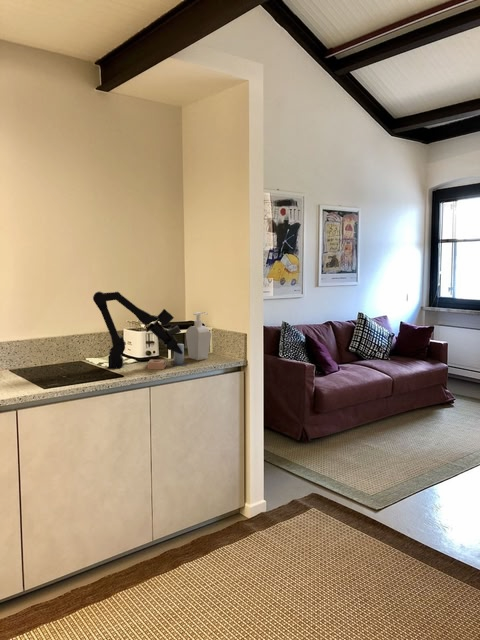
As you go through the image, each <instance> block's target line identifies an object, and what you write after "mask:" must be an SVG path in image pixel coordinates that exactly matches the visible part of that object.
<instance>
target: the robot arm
mask: <svg viewBox="0 0 480 640" xmlns="http://www.w3.org/2000/svg"><path fill="white" fill-rule="evenodd" d="M92 300H93V302H94V303H95V305H96V307H97V308H98V309H99V311H100V312H101V315H102V318H103V320H104V323H105V325H106V328H107V330H108V332H109V335H110V338H111V344H112V347H111V348H110V349H108V351H109V352H108V353H109V355H108V359H107V360H108V367H107V369H122V367H124V357H123V354H122V353H124V351H125V350H126V345H127V344H126V341H125V340H124V336H123V335H121V336H120V334H119V333H118V331H117V327H116V326H115V325H116V324H115V322H114V320H113V318H112V316H111V313H110V310H109V308H108V303H107V302H110V301H116V302H118V303H119V304H120V305H121V306H123V307H124V308H126V310H128V311H130V312H131V313H132V314H133V315H134V316H135V317H136V318H137V319H138V320H139V322H140V323H141V324H142V325H144V326H145V329H146V330H145V332H146V333H148V332H149V331H150V332H151V333H152V334H153V335H155V336H156V338H157V339H158V340H160V341H161V342H162V343H163V344H164V345H165V348H166V349H167V350H169V351H172V352H173V353H174V352H177V353H179V354H182V353H183V352H182V351H181V349H180V348H179V347H178V345H177V344H179V343H178V340H177V339H176V337H175V336H174V335H177V334H180V333H181V329H180V327H179V325H174V324H172V325H171V326H170V328H169V329H167V328H165V327H164V326H168V324H169V323H170V322H171V321H172V320H173V319H174V316H173V315H172V314H171V313H170V312H168V311H167V309H166V308H163V309H162V310H161V312H160V313H159V314H157V315H154V314H153V315H152V314H151V313H149V312H147V311H146V310H143V309H141V308H139V307H138V306H137V305H135V304H134V303H133V302H131V301H130V300H129V299H128V298H126V297H125V296H124V295H123V294H121V293H120V292H119V291H115V292H114V291H113V292H111V291H110V292H102V291H97V292H95V293H94V294H93V296H92Z"/></svg>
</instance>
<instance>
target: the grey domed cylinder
mask: <svg viewBox="0 0 480 640" xmlns="http://www.w3.org/2000/svg"><path fill="white" fill-rule="evenodd" d="M177 345H178V347H179V348H180V349H181V351H182V352H183V353H182V354H179V353H177V352H174V351H173V363H174V365H184V363H185V350H184V349H185V344H184V343H177Z"/></svg>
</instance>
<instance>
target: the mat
mask: <svg viewBox="0 0 480 640" xmlns="http://www.w3.org/2000/svg"><path fill="white" fill-rule="evenodd" d="M188 364H189V362H184V365H174V361H173V362H171V363H170V364H169V365H168V366H169V367H187V366H188Z"/></svg>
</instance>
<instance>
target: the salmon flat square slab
mask: <svg viewBox="0 0 480 640" xmlns="http://www.w3.org/2000/svg"><path fill="white" fill-rule="evenodd" d="M166 367H167V360H166V359H149V361H148V362H147V370H164V369H165V368H166Z"/></svg>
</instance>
